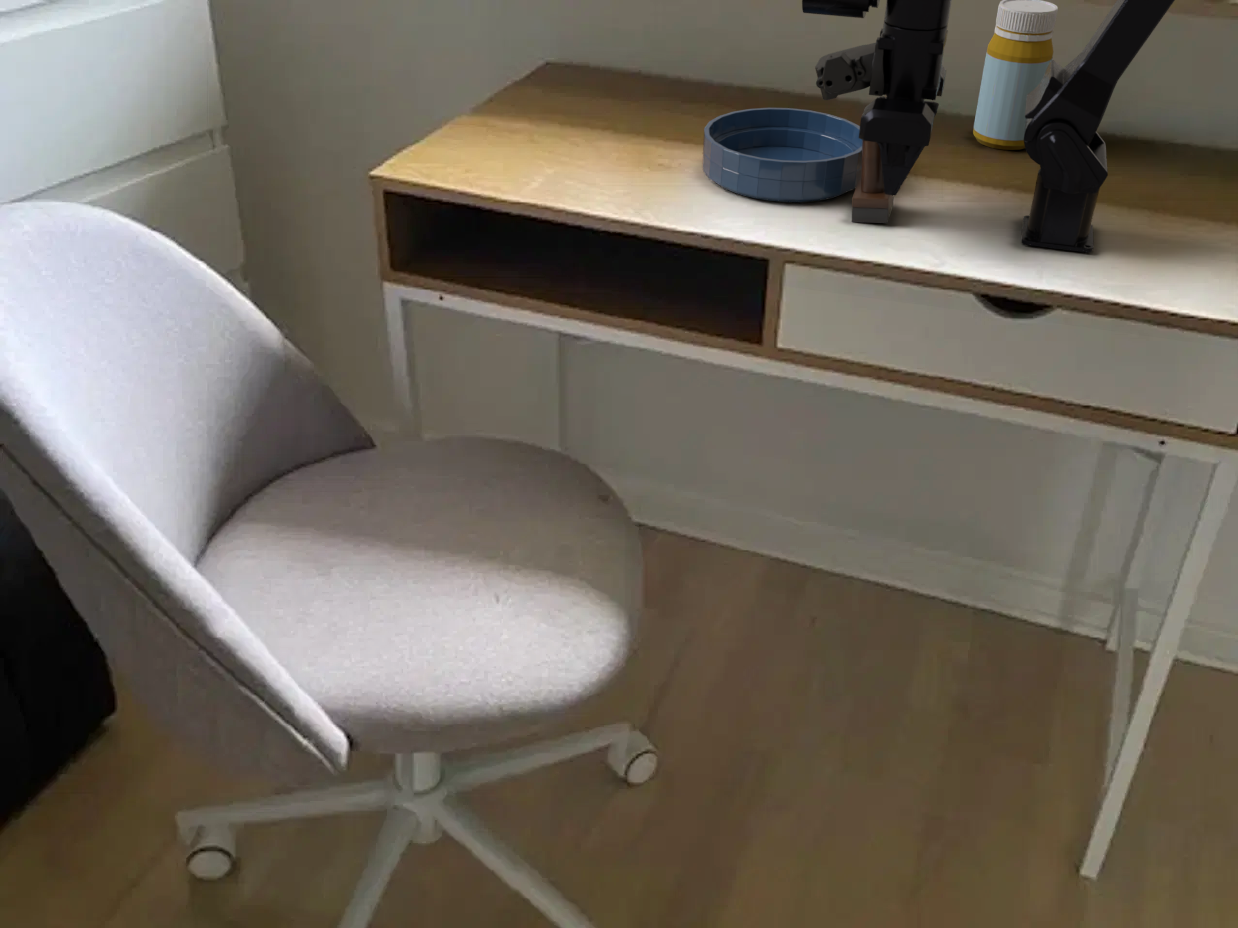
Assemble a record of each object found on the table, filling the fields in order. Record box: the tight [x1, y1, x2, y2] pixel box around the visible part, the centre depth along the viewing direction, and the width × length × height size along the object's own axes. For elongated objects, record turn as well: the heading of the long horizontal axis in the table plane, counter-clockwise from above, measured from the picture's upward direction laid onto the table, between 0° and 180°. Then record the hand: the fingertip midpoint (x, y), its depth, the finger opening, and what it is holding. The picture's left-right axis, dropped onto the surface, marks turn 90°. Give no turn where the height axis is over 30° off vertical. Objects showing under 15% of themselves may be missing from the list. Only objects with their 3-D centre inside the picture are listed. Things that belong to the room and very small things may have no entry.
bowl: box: [701, 107, 862, 203], centre depth 136 cm, size 17×17×4 cm
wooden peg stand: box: [851, 140, 894, 224], centre depth 126 cm, size 5×4×10 cm
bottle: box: [972, 0, 1059, 151], centre depth 144 cm, size 7×7×15 cm
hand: (892, 186), depth 126 cm, fingers open, 4 cm apart
